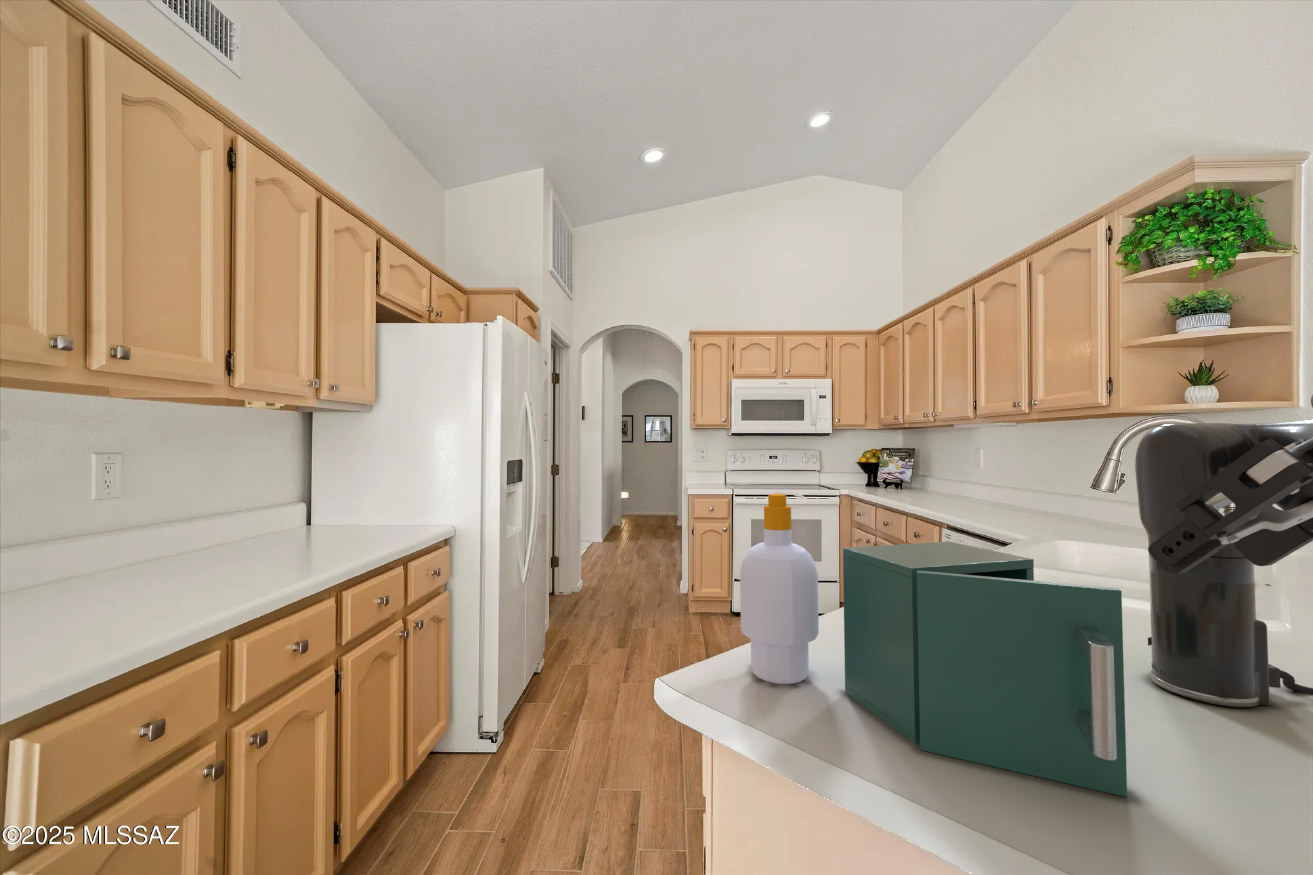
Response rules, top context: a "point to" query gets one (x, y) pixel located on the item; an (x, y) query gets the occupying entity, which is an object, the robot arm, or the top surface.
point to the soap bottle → (779, 599)
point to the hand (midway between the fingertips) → (1206, 558)
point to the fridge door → (1024, 677)
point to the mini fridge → (900, 619)
